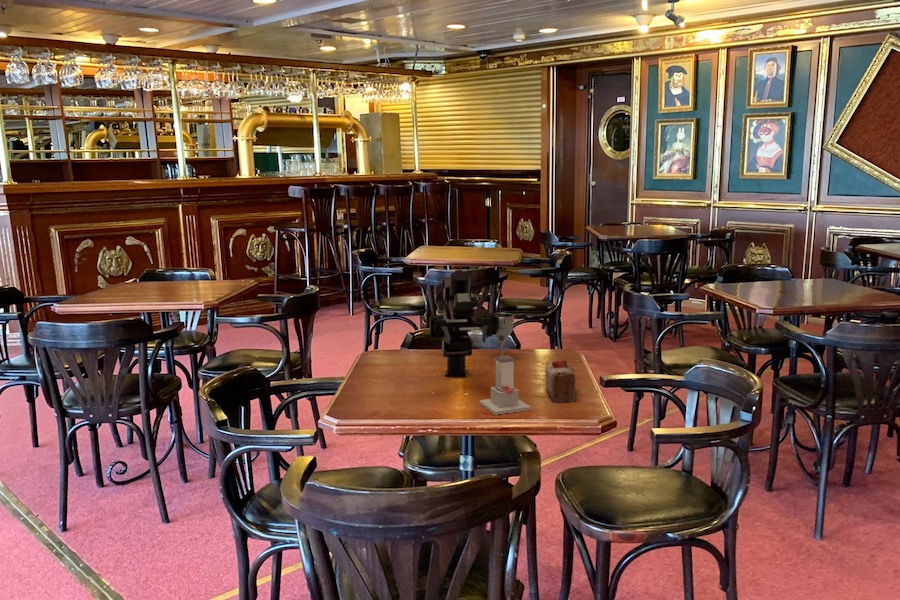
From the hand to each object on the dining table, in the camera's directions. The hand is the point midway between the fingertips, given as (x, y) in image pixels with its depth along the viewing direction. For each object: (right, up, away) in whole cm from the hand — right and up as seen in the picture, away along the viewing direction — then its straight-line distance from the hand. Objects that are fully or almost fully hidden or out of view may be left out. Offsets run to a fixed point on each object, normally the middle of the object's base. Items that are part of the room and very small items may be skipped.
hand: (467, 341), depth 192 cm
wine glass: (+12, -9, +45) cm, 47 cm away
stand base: (+10, -17, -3) cm, 20 cm away
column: (+10, -16, -4) cm, 19 cm away
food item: (+26, -15, +7) cm, 31 cm away
